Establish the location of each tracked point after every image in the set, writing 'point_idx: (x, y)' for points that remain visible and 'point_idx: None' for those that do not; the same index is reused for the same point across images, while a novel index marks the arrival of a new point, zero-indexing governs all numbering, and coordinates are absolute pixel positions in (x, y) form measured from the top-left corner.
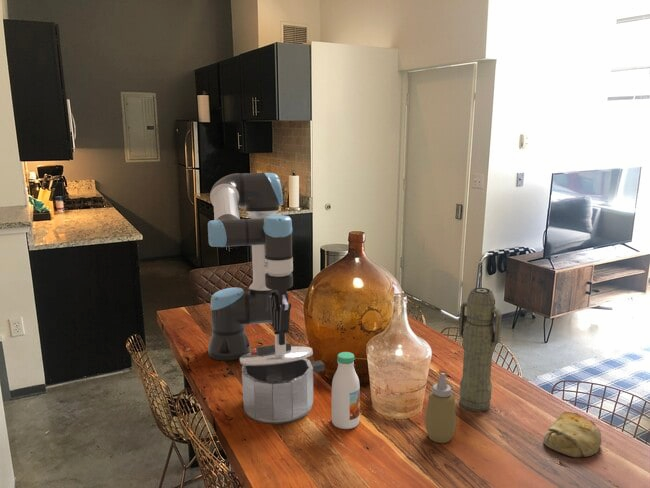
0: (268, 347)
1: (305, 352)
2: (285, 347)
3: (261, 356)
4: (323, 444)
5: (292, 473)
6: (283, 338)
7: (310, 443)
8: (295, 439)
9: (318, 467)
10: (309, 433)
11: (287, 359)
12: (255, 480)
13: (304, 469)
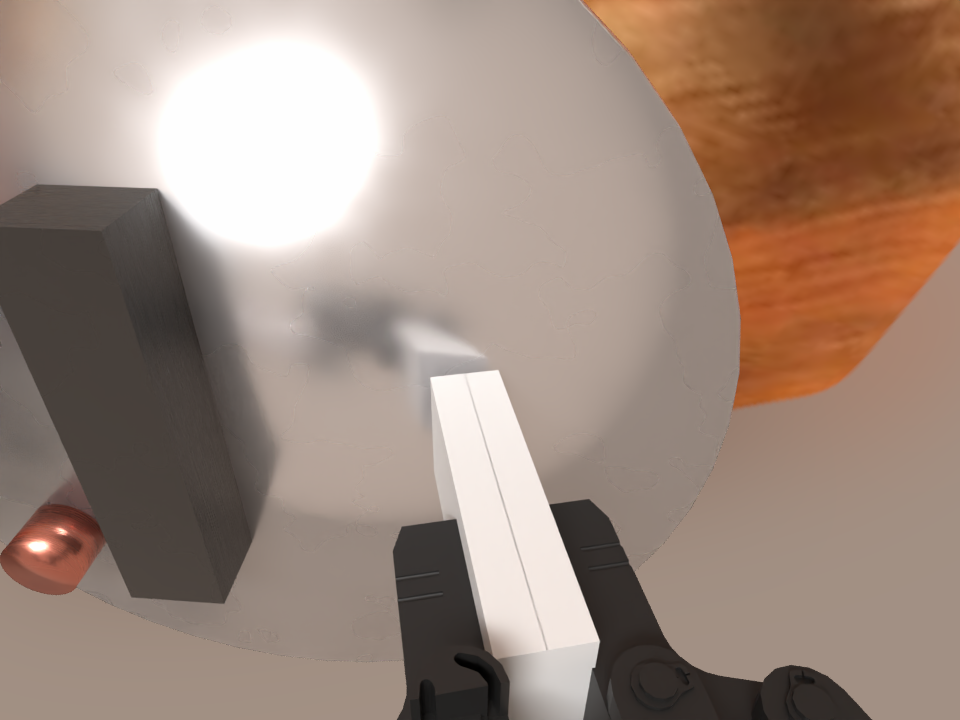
0: (195, 508)
1: (578, 110)
2: (519, 435)
3: (329, 537)
4: (833, 34)
5: (899, 252)
6: (636, 600)
7: (780, 104)
8: (704, 171)
9: (951, 133)
10: (699, 75)
11: (728, 414)
12: (836, 381)
13: (916, 198)
